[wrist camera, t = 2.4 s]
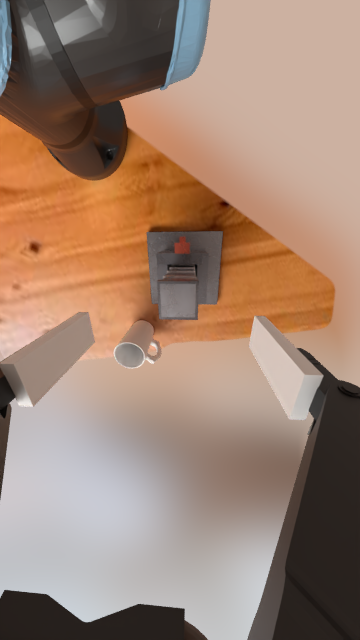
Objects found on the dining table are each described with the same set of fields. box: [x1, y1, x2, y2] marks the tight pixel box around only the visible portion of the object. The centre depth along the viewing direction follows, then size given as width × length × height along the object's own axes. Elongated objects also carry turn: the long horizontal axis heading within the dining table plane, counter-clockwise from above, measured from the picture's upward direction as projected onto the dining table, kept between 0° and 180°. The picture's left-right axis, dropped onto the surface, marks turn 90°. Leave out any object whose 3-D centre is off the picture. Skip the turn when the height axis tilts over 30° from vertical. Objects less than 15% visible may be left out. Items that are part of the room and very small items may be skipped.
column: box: [157, 264, 199, 320], centre depth 31 cm, size 5×5×22 cm
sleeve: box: [147, 231, 223, 304], centre depth 36 cm, size 16×16×12 cm
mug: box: [114, 320, 161, 368], centre depth 44 cm, size 10×7×12 cm, turn 63°
